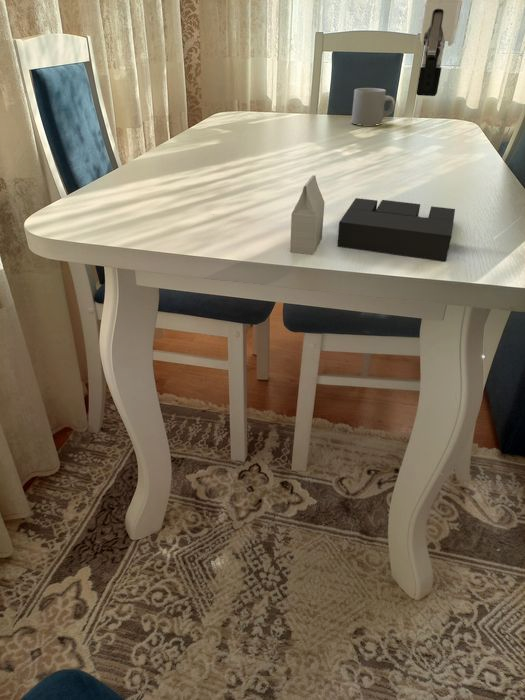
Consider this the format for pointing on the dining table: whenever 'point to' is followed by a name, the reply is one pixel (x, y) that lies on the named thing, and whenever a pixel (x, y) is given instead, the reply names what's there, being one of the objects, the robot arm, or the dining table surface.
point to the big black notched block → (396, 231)
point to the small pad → (398, 208)
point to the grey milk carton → (307, 219)
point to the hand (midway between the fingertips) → (426, 94)
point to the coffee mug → (370, 106)
